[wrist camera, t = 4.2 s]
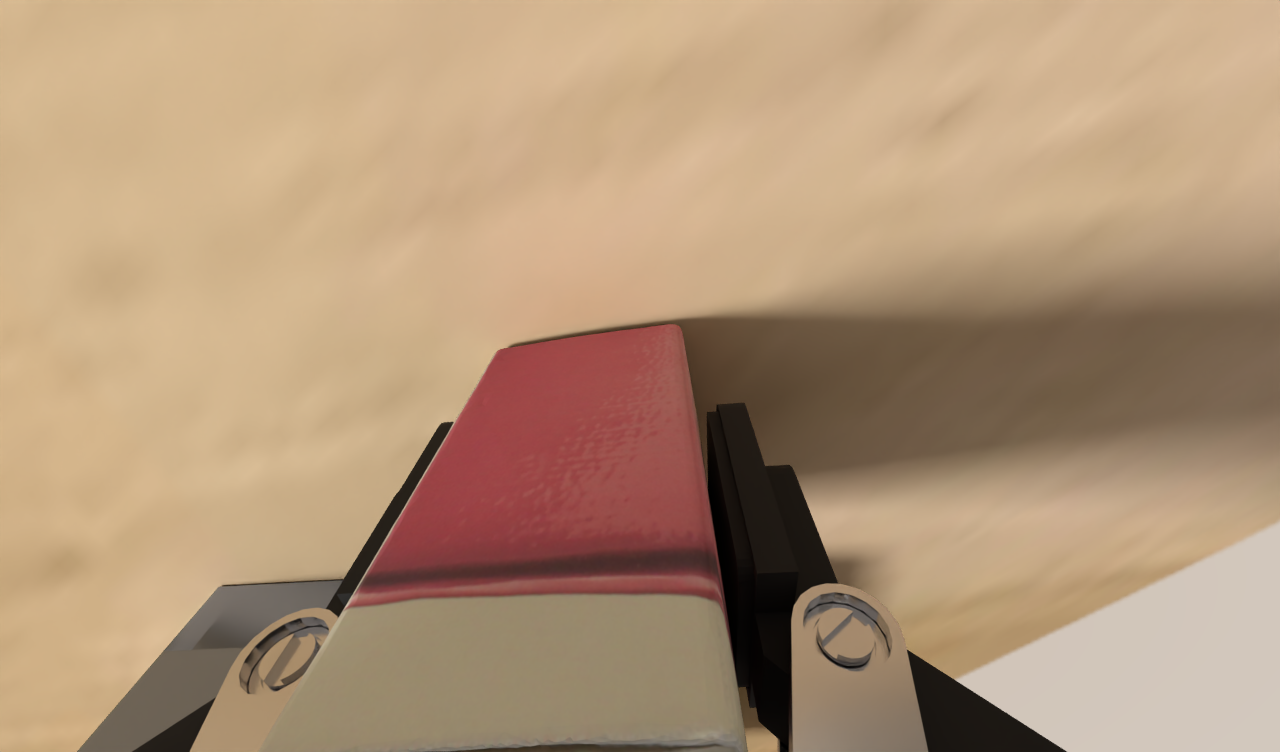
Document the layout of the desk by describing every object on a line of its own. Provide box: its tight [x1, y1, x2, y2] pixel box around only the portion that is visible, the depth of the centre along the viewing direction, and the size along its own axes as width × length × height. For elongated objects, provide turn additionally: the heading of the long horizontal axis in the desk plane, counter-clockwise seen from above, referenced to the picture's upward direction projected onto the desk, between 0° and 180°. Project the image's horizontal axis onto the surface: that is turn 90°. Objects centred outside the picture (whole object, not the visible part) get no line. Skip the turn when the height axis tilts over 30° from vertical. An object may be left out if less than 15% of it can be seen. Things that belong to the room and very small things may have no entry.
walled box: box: [77, 580, 343, 752], centre depth 15 cm, size 15×10×4 cm, turn 95°
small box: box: [258, 324, 748, 752], centre depth 8 cm, size 5×4×8 cm
